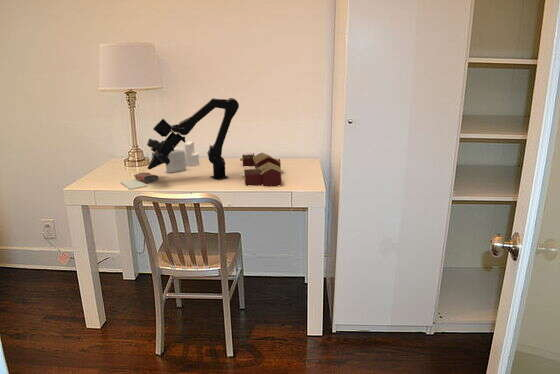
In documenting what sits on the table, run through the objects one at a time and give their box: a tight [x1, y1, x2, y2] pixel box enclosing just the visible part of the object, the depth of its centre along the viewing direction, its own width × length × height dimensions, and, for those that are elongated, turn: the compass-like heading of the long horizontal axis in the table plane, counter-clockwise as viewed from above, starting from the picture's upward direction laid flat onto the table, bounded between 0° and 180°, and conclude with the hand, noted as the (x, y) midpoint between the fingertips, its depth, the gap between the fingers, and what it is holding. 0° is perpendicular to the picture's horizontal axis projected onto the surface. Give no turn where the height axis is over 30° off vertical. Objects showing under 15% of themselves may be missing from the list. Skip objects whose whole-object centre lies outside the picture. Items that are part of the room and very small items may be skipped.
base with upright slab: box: [184, 140, 200, 168], centre depth 254 cm, size 9×9×12 cm
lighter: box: [134, 172, 160, 183], centre depth 227 cm, size 8×3×10 cm
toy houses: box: [239, 152, 284, 187], centre depth 237 cm, size 45×21×10 cm, turn 8°
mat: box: [119, 178, 149, 191], centre depth 221 cm, size 14×8×1 cm, turn 36°
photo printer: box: [165, 146, 187, 174], centre depth 242 cm, size 10×4×12 cm, turn 123°
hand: (148, 168), depth 221 cm, fingers closed
